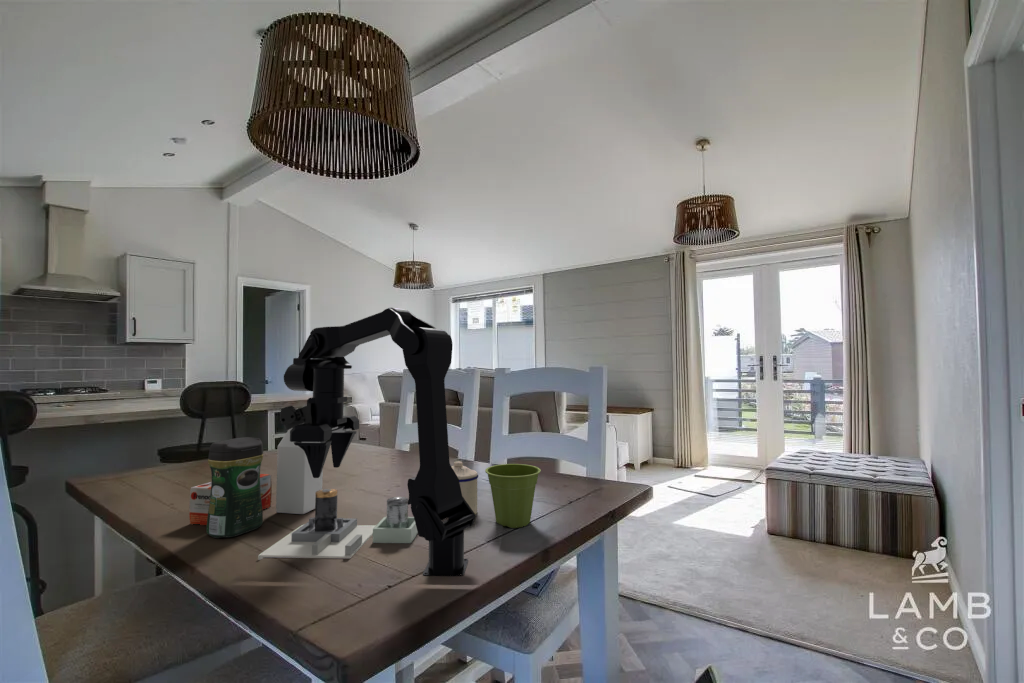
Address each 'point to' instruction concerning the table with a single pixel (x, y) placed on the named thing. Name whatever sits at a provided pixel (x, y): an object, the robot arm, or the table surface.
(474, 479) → the teacup with lid
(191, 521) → the medicine box
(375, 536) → the cup
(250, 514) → the coffee jar
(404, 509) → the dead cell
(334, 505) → the cell
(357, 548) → the white square base board
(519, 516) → the plant pot
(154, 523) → the table surface
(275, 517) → the table surface
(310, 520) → the cradle
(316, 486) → the milk carton
